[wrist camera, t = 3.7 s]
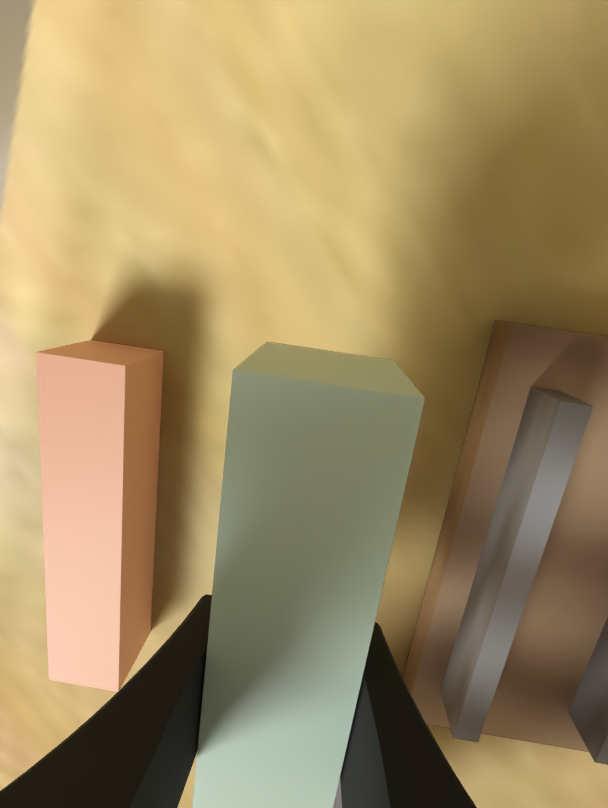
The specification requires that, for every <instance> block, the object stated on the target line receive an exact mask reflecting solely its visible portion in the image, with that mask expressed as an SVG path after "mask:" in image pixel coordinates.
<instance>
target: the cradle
mask: <svg viewBox="0 0 608 808" xmlns="http://www.w3.org/2000/svg"><path fill="white" fill-rule="evenodd" d="M403 680H404V682H405V684H406V686H407V688H408V690H409V692H410V694H411V696H412V698H413V700H414V702H415V704H416V706H417V708H418V709H419V711H420V713H421V715H422V717H423V719H424V721H425V723H426V724H428V725H434V726H440V727H446V728H450V729H451V733H452V737H453V738H456V739H462V740H467V741H473V742H478V741H479V738H480V735H481V734H487V735H492V736H498V737H504V738H510V739H516V740H522V741H527V742H533V743H539V744H545V745H551V746H557V747H563V748H568V749H574V750H580V751H586V752H590V754H591V756H592V758H593V760H594V761H595V762H596V763H602V764H607V765H608V337H607V336H600V335H593V334H586V333H579V332H572V331H565V330H558V329H552V328H545V327H538V326H531V325H524V324H517V323H510V322H503V321H495V325H494V329H493V333H492V337H491V340H490V344H489V348H488V352H487V356H486V360H485V364H484V367H483V371H482V375H481V379H480V383H479V387H478V390H477V394H476V398H475V402H474V406H473V410H472V413H471V417H470V421H469V425H468V429H467V433H466V436H465V440H464V444H463V448H462V452H461V456H460V459H459V463H458V467H457V471H456V475H455V479H454V482H453V486H452V490H451V494H450V498H449V502H448V505H447V509H446V513H445V517H444V521H443V525H442V528H441V532H440V536H439V540H438V544H437V548H436V552H435V555H434V559H433V563H432V567H431V571H430V575H429V578H428V582H427V586H426V590H425V594H424V598H423V601H422V605H421V609H420V613H419V617H418V621H417V624H416V628H415V632H414V636H413V640H412V644H411V647H410V651H409V655H408V659H407V663H406V667H405V670H404V674H403Z"/></svg>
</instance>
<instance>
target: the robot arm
mask: <svg viewBox="0 0 608 808" xmlns="http://www.w3.org/2000/svg"><path fill="white" fill-rule="evenodd" d="M211 601H212V595H205V596H203V597H201V599H200V600H199V602H198V603H197V604H196V606H195V607H194V608H193V610H192V611H191V612H190V613H189V615H188V616H187V617H186V618H185V620H184V621H183V622H182V623H181V625H180V626H179V627H178V628H177V629H176V631H175V632H174V633H173V634H172V635H171V636H170V638H169V639H168V640H167V641H166V642H165V643H164V644H163V645H162V646H161V648H160V649H159V650H158V651H157V652H156V653H155V654H154V655H153V656H152V658H151V659H150V660H149V661H148V662H147V663H146V664H145V665H144V666H143V667H142V668H141V669H140V670H139V671H138V672H137V673H136V674H135V675H134V676H133V677H132V678H131V679H130V680H129V681H128V682H127V683H126V684H125V685H124V686H123V687H122V688H121V689H120V690H119V691H118V692H117V693H116V694H115V695H114V696H113V697H112V698H111V699H110V700H109V701H108V702H107V703H106V704H105V705H104V706H103V707H102V708H101V709H99V710H98V711H97V712H96V713H95V714H94V715H93V716H92V717H91V718H90V719H88V720H87V721H86V722H85V723H84V724H83V725H82V726H80V727H79V728H78V729H77V730H76V731H75V732H74V733H72V734H71V735H70V736H69V737H68V738H67V739H65V740H64V741H63V742H62V743H61V744H59V745H58V746H57V747H56V748H54V749H53V750H52V751H51V752H50V753H48V754H47V755H46V756H45V757H43V758H42V759H41V760H40V761H38V762H37V763H36V764H35V765H34V766H32V767H31V768H30V769H29V770H27V771H26V772H25V773H23V774H22V775H21V776H20V777H18V778H17V779H16V780H14V781H13V782H12V783H10V784H9V785H8V786H6V787H5V788H4V789H2V790H1V791H0V808H177V807H178V804H179V801H180V798H181V795H182V793H183V790H184V787H185V784H186V781H187V778H188V776H189V773H190V770H191V767H192V764H193V762H194V759H195V756H196V753H197V750H198V741H199V730H200V719H201V709H202V698H203V687H204V676H205V666H206V655H207V644H208V634H209V623H210V612H211ZM333 808H477V807H476V806H475V804H474V803H473V801H472V800H471V798H470V796H469V795H468V793H467V792H466V790H465V789H464V787H463V786H462V784H461V783H460V781H459V779H458V778H457V776H456V774H455V773H454V771H453V770H452V768H451V766H450V765H449V763H448V761H447V760H446V758H445V756H444V755H443V753H442V751H441V749H440V748H439V746H438V744H437V742H436V741H435V739H434V737H433V735H432V734H431V732H430V730H429V728H428V726H427V725H426V723H425V721H424V719H423V717H422V715H421V713H420V711H419V709H418V708H417V706H416V704H415V702H414V700H413V698H412V696H411V694H410V692H409V690H408V688H407V686H406V684H405V682H404V680H403V678H402V676H401V674H400V671H399V669H398V667H397V665H396V663H395V661H394V658H393V656H392V654H391V652H390V649H389V647H388V645H387V642H386V640H385V637H384V635H383V632H382V630H381V627H380V626H379V625H378V623H376V622H375V624H374V628H373V632H372V637H371V641H370V646H369V650H368V655H367V659H366V663H365V668H364V672H363V677H362V681H361V686H360V690H359V694H358V699H357V703H356V708H355V712H354V717H353V721H352V726H351V730H350V734H349V739H348V743H347V748H346V752H345V757H344V761H343V765H342V770H341V774H340V779H339V783H338V788H337V792H336V796H335V801H334V805H333Z"/></svg>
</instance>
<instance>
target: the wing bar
mask: <svg viewBox="0 0 608 808" xmlns="http://www.w3.org/2000/svg"><path fill="white" fill-rule="evenodd" d="M36 355H37V381H38V407H39V433H40V459H41V485H42V511H43V537H44V563H45V589H46V615H47V642H48V668H49V680H54V681H60V682H65V683H71V684H77V685H82V686H88V687H93V688H99V689H105V690H110V691H116V692H118V691H119V690H120V688H121V686H122V684H123V682H124V680H125V679H126V677H127V675H128V673H129V671H130V669H131V667H132V665H133V664H134V662H135V660H136V658H137V656H138V654H139V652H140V650H141V649H142V647H143V645H144V643H145V641H146V639H147V637H148V635H149V634H150V632H151V615H152V594H153V573H154V551H155V530H156V509H157V488H158V466H159V445H160V424H161V403H162V382H163V360H164V351H161V350H154V349H147V348H141V347H134V346H128V345H121V344H114V343H108V342H101V341H94V340H89V341H84V342H80V343H75V344H71V345H66V346H62V347H57V348H53V349H48V350H44V351H39V352H36Z"/></svg>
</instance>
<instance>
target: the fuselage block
mask: <svg viewBox="0 0 608 808" xmlns="http://www.w3.org/2000/svg"><path fill="white" fill-rule="evenodd" d="M424 402H425V398H424V396H423V395H422V394H421V393H420V392H419V390H418V389H417V388H416V387H415V385H414V384H413V383H412V382H411V381H410V379H409V378H408V377H407V376H406V374H405V373H404V372H403V371H402V370H401V368H400V367H399V366H398V365H397V363H396V362H395V361H394V360H388V359H382V358H375V357H368V356H361V355H355V354H348V353H341V352H334V351H328V350H321V349H314V348H307V347H300V346H294V345H287V344H280V343H273V342H266V343H265V344H264V345H262V346H261V347H260V348H259V349H258V350H256V351H255V352H254V353H253V354H251V355H250V356H249V357H248V358H247V359H245V360H244V361H243V362H242V363H241V364H239V365H238V366H237V367H236V368H235V369H233V376H232V387H231V397H230V408H229V419H228V429H227V440H226V451H225V462H224V472H223V483H222V494H221V505H220V515H219V526H218V537H217V548H216V558H215V569H214V580H213V591H212V601H211V612H210V623H209V634H208V644H207V655H206V666H205V676H204V687H203V698H202V709H201V719H200V730H199V741H198V752H197V762H196V773H195V784H194V795H193V805H192V808H333V805H334V801H335V796H336V792H337V788H338V783H339V779H340V774H341V770H342V765H343V761H344V757H345V752H346V748H347V743H348V739H349V734H350V730H351V726H352V721H353V717H354V712H355V708H356V703H357V699H358V694H359V690H360V686H361V681H362V677H363V672H364V668H365V663H366V659H367V655H368V650H369V646H370V641H371V637H372V632H373V628H374V624H375V619H376V615H377V610H378V606H379V601H380V597H381V593H382V588H383V584H384V579H385V575H386V570H387V566H388V562H389V557H390V553H391V548H392V544H393V539H394V535H395V531H396V526H397V522H398V517H399V513H400V508H401V504H402V500H403V495H404V491H405V486H406V482H407V477H408V473H409V469H410V464H411V460H412V455H413V451H414V446H415V442H416V437H417V433H418V429H419V424H420V420H421V415H422V411H423V406H424Z"/></svg>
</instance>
